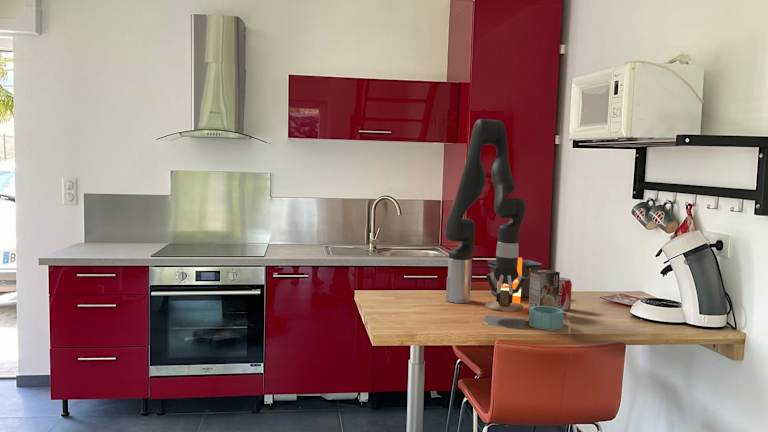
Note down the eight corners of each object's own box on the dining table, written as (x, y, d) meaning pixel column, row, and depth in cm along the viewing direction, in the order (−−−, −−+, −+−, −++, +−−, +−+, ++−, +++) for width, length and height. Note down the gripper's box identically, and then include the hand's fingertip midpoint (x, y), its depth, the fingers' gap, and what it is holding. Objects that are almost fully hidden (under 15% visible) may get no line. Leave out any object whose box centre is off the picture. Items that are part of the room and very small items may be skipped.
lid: (483, 310, 218) (484, 293, 217) (486, 301, 231) (487, 285, 230) (522, 313, 215) (523, 297, 214) (523, 304, 227) (524, 288, 227)
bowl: (528, 329, 215) (529, 312, 215) (529, 321, 226) (530, 304, 226) (562, 332, 213) (563, 314, 212) (562, 324, 223) (563, 307, 223)
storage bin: (525, 290, 279) (526, 258, 278) (546, 298, 265) (548, 264, 264) (482, 293, 271) (484, 260, 270) (502, 301, 257) (504, 266, 256)
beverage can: (571, 312, 242) (572, 280, 241) (554, 310, 243) (555, 279, 242) (569, 308, 248) (571, 277, 247) (553, 307, 250) (554, 276, 248)
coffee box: (546, 310, 243) (548, 269, 241) (558, 314, 237) (560, 272, 236) (527, 313, 239) (529, 270, 237) (539, 317, 233) (541, 273, 232)
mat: (482, 326, 218) (482, 324, 218) (485, 316, 231) (486, 315, 231) (524, 330, 214) (524, 328, 214) (525, 320, 228) (525, 318, 228)
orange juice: (519, 311, 240) (522, 259, 238) (496, 310, 242) (498, 257, 240) (520, 307, 248) (522, 256, 246) (497, 305, 250) (499, 254, 248)
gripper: (485, 255, 219) (482, 304, 221) (527, 258, 215) (524, 308, 217) (487, 251, 226) (485, 299, 228) (528, 254, 222) (525, 303, 224)
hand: (504, 303), depth 223 cm, fingers closed on lid, 2 cm apart
